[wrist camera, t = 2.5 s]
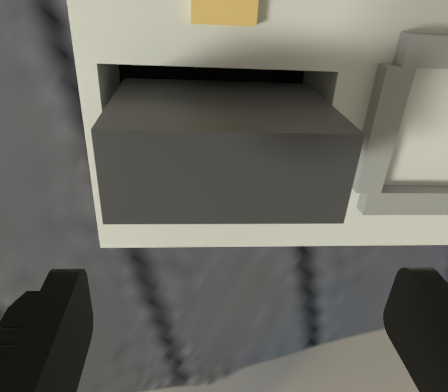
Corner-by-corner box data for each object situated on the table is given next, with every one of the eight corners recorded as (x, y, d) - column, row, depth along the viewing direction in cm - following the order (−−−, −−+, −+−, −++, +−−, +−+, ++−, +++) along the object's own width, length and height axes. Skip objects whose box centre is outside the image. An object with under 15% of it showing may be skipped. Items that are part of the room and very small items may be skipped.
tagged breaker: (124, 77, 20) (90, 129, 13) (307, 83, 21) (365, 134, 14) (129, 148, 22) (102, 224, 15) (297, 150, 23) (343, 223, 16)
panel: (90, -53, 21) (38, -70, 14) (615, -21, 24) (801, -21, 17) (116, 199, 29) (91, 273, 22) (509, 200, 32) (604, 266, 25)
